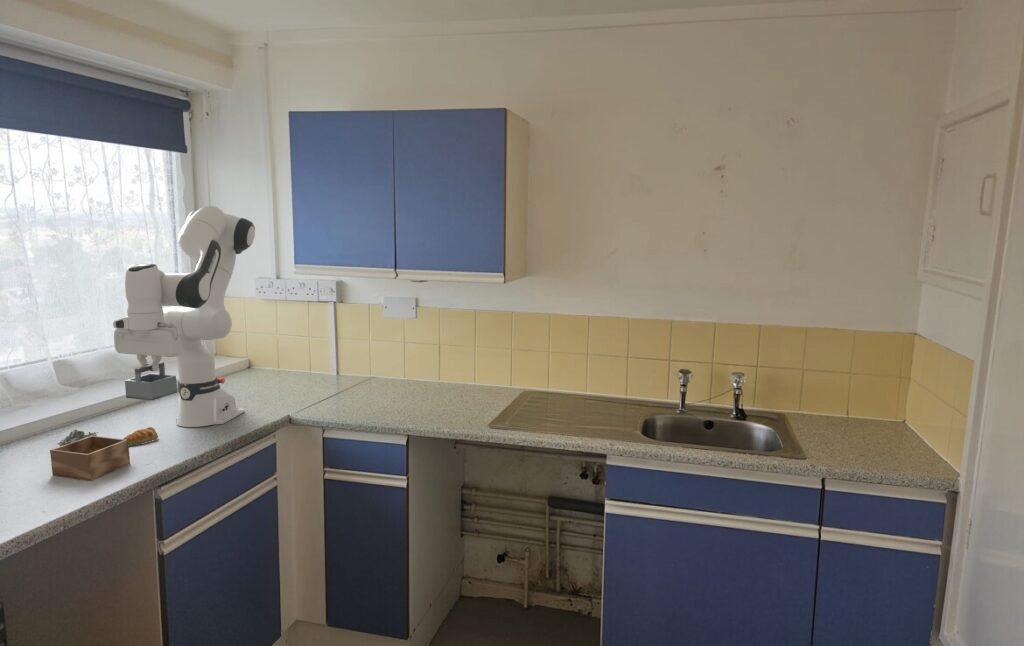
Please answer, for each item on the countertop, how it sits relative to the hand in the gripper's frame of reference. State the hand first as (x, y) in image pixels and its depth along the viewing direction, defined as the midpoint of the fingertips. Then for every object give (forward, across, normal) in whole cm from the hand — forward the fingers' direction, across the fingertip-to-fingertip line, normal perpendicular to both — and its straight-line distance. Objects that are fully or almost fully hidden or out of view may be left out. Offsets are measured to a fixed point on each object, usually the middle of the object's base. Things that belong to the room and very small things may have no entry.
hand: (150, 370), depth 188 cm
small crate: (+7, 0, 0) cm, 7 cm away
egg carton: (+25, +29, 0) cm, 38 cm away
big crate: (+25, +8, +14) cm, 30 cm away
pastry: (+25, +14, -9) cm, 31 cm away
